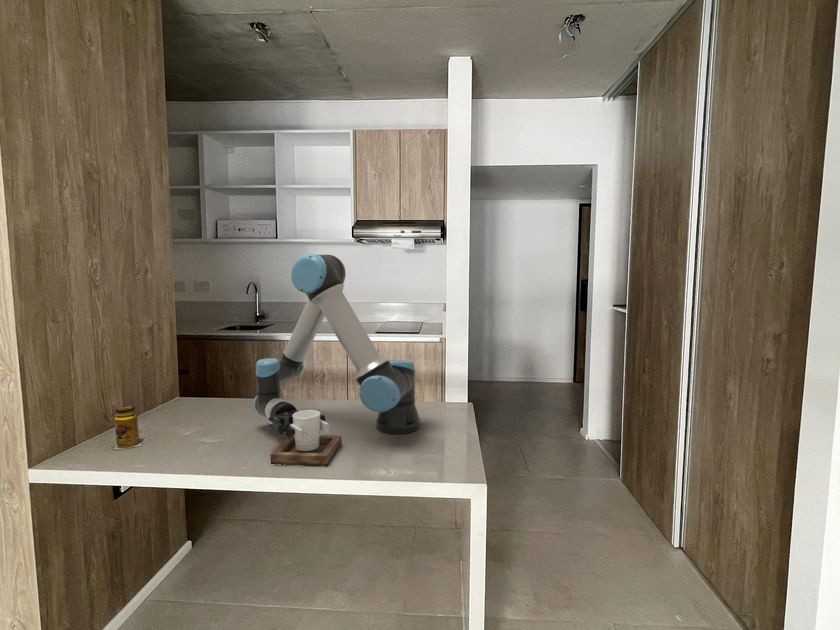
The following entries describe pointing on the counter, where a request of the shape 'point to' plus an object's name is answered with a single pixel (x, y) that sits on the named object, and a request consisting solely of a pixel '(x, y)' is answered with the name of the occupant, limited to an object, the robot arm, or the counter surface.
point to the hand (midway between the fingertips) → (314, 431)
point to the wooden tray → (307, 452)
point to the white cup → (307, 429)
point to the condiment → (127, 428)
